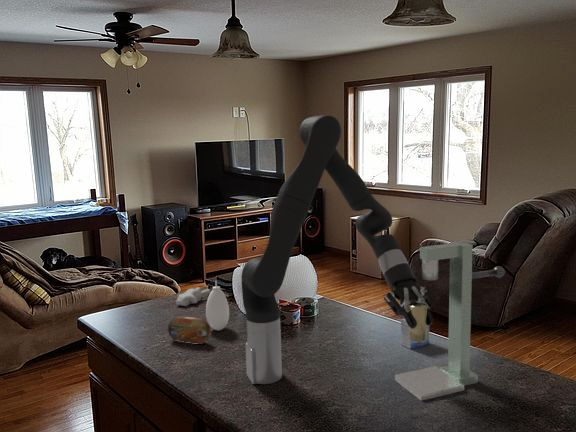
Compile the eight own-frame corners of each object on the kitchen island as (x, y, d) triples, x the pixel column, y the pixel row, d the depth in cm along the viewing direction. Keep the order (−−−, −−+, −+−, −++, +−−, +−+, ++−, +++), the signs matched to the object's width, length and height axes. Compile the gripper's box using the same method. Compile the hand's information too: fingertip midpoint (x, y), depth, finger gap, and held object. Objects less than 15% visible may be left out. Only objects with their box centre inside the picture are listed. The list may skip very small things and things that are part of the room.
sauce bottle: (234, 327, 181) (231, 278, 178) (219, 335, 174) (217, 283, 172) (217, 324, 185) (214, 275, 182) (202, 331, 179) (199, 280, 176)
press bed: (421, 400, 128) (422, 255, 122) (394, 380, 139) (395, 245, 133) (516, 377, 138) (521, 242, 132) (484, 360, 149) (488, 234, 143)
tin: (168, 341, 171) (166, 316, 170) (173, 337, 174) (172, 313, 172) (207, 346, 165) (206, 321, 164) (212, 343, 168) (211, 318, 167)
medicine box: (409, 349, 158) (410, 322, 157) (400, 344, 162) (400, 318, 161) (429, 344, 162) (429, 317, 160) (419, 339, 166) (420, 313, 164)
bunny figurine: (170, 296, 207) (195, 282, 219) (172, 307, 208) (196, 293, 220) (187, 299, 202) (212, 285, 214) (189, 311, 203) (213, 296, 215)
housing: (415, 342, 133) (415, 308, 131) (405, 336, 137) (405, 303, 135) (430, 339, 134) (430, 305, 133) (419, 333, 138) (419, 300, 137)
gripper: (378, 265, 137) (405, 324, 128) (423, 259, 142) (452, 314, 133) (368, 280, 143) (393, 336, 133) (412, 273, 148) (438, 327, 138)
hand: (422, 325), depth 133 cm, fingers closed on housing, 4 cm apart
